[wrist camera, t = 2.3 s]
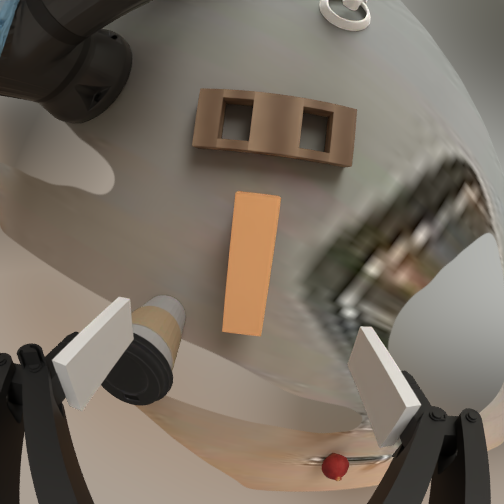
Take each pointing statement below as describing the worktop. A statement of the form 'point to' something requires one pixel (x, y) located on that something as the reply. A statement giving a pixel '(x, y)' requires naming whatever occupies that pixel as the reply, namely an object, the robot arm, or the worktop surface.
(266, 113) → the hollow block
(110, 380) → the coffee cup
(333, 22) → the hook
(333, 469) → the onion
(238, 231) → the wooden arch block
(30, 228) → the worktop surface
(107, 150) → the worktop surface
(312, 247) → the worktop surface
